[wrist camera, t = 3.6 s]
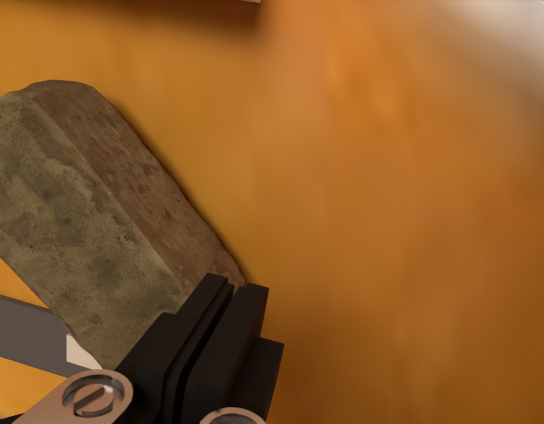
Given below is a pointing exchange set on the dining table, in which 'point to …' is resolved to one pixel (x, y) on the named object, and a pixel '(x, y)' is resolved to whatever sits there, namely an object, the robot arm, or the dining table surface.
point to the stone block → (96, 219)
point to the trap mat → (34, 338)
